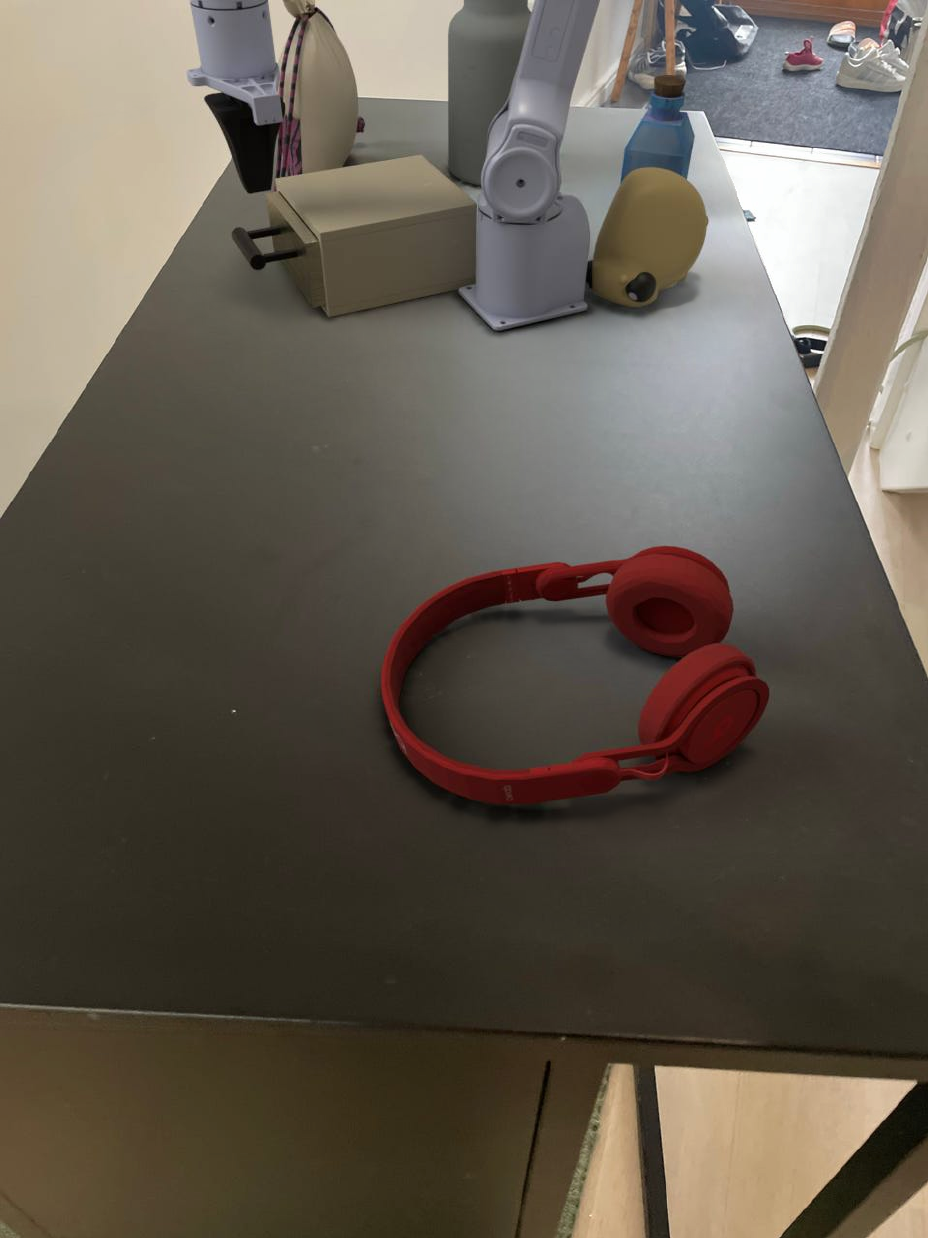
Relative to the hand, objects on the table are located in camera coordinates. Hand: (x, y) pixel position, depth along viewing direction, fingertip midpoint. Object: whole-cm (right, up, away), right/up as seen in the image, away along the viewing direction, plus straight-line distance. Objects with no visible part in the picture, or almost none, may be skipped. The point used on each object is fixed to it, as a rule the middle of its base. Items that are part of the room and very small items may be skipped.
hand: (257, 188), depth 77 cm
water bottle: (+21, +15, +28) cm, 38 cm away
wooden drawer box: (+9, -3, +10) cm, 14 cm away
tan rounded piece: (+34, -6, +8) cm, 35 cm away
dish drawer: (+6, -4, +8) cm, 11 cm away
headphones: (+23, -41, -26) cm, 54 cm away
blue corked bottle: (+38, +9, +22) cm, 45 cm away
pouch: (+2, +12, +25) cm, 28 cm away
